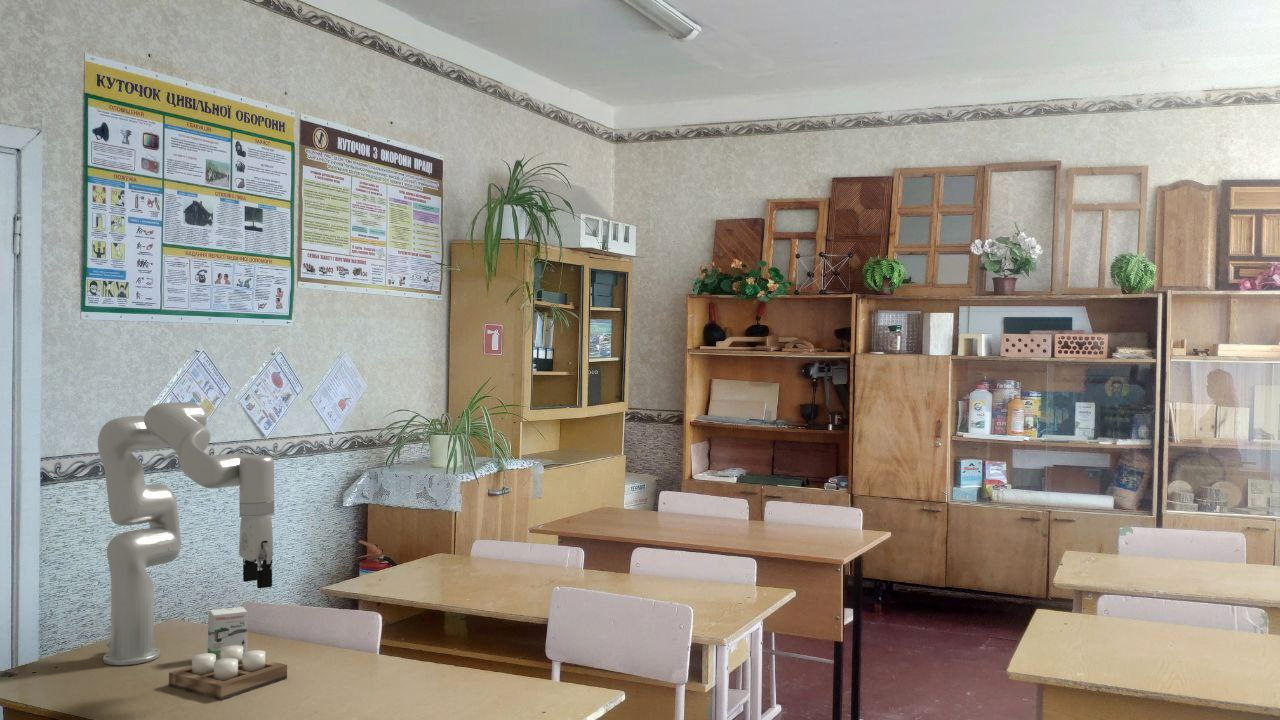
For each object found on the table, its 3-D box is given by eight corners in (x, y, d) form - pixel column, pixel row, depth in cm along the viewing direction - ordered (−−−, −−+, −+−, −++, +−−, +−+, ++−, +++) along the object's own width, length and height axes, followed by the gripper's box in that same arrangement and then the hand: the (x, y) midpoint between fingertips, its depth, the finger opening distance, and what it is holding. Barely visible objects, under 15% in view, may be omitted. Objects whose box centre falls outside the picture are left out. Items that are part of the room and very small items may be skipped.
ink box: (211, 662, 250) (211, 614, 250) (207, 657, 254) (207, 610, 254) (247, 657, 254) (248, 610, 254) (243, 652, 259) (243, 606, 259)
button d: (237, 669, 235) (237, 654, 235) (255, 663, 239) (255, 649, 239) (252, 672, 232) (252, 657, 232) (269, 667, 237) (270, 652, 237)
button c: (209, 678, 228) (209, 662, 228) (227, 672, 233) (228, 657, 233) (223, 681, 226) (224, 666, 226) (242, 675, 230) (242, 660, 230)
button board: (168, 686, 231) (168, 672, 231) (235, 666, 247) (235, 653, 247) (221, 700, 222) (221, 685, 222) (287, 678, 238) (287, 664, 238)
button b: (215, 664, 239) (215, 649, 239) (233, 658, 243) (233, 644, 243) (229, 667, 236) (230, 652, 236) (247, 662, 241) (247, 647, 241)
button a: (187, 672, 232) (187, 657, 232) (206, 667, 236) (206, 652, 236) (201, 676, 230) (201, 660, 230) (220, 670, 234) (220, 655, 234)
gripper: (228, 507, 238) (228, 580, 238) (252, 514, 224) (253, 592, 224) (261, 504, 243) (261, 576, 242) (286, 511, 229) (287, 587, 229)
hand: (257, 584), depth 233 cm, fingers open, 9 cm apart
